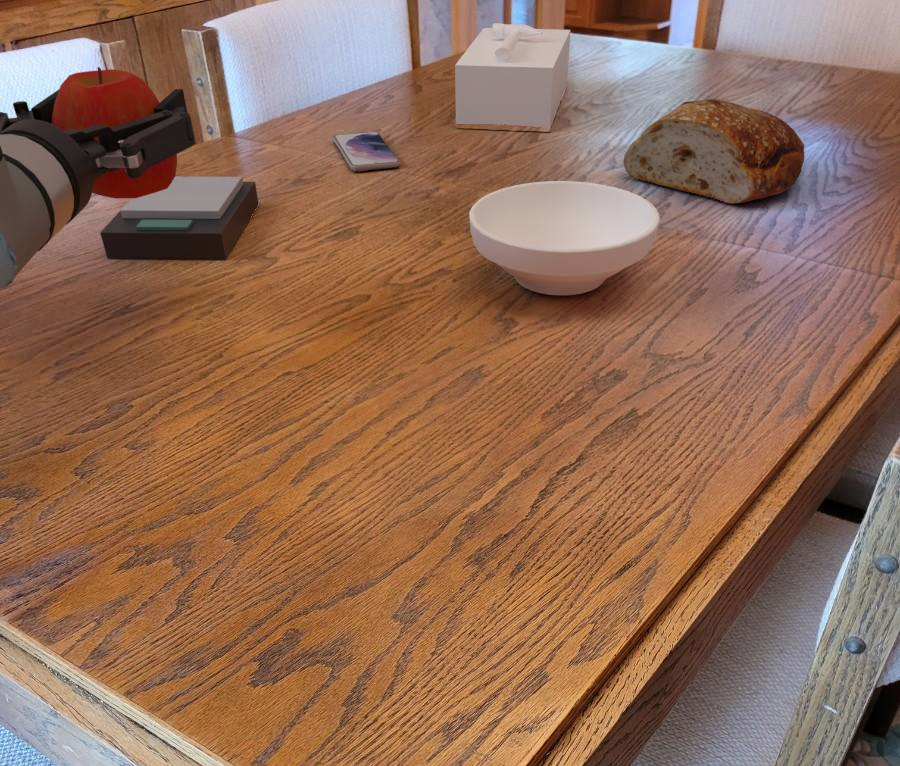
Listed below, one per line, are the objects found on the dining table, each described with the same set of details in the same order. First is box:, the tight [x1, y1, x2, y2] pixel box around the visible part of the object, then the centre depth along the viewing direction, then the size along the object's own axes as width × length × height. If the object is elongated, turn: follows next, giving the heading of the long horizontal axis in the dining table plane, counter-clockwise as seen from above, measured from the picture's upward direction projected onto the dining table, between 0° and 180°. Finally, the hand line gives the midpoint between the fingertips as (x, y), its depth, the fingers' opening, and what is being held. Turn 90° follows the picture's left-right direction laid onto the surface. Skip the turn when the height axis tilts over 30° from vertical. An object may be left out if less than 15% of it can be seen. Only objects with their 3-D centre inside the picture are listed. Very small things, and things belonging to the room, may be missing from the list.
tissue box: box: [454, 22, 571, 128], centre depth 142 cm, size 14×25×11 cm, turn 169°
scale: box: [99, 175, 260, 261], centre depth 109 cm, size 14×17×4 cm
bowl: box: [468, 180, 661, 296], centre depth 95 cm, size 20×20×7 cm
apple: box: [52, 66, 178, 199], centre depth 84 cm, size 11×11×11 cm
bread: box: [622, 98, 805, 204], centre depth 116 cm, size 20×18×10 cm
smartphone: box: [332, 131, 401, 172], centre depth 129 cm, size 7×1×15 cm
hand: (124, 104), depth 86 cm, fingers closed on apple, 11 cm apart
